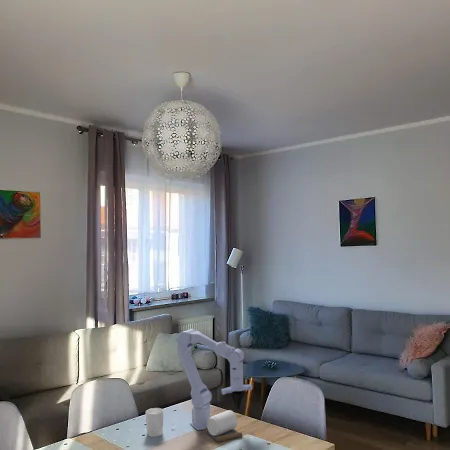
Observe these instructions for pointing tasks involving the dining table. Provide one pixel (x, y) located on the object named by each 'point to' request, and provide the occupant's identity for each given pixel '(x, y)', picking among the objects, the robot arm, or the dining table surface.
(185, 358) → the robot arm
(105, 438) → the dining table surface
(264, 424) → the dining table surface
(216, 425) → the beverage can
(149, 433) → the white cup
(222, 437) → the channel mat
